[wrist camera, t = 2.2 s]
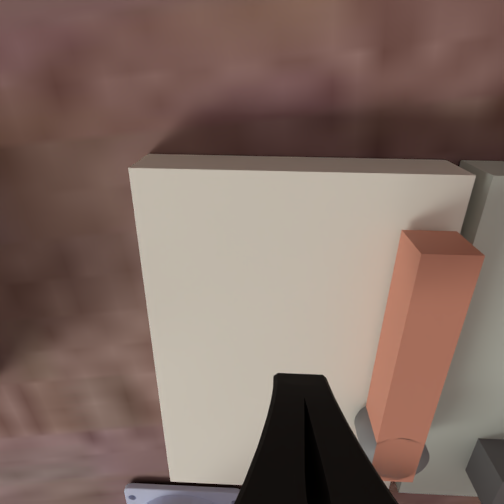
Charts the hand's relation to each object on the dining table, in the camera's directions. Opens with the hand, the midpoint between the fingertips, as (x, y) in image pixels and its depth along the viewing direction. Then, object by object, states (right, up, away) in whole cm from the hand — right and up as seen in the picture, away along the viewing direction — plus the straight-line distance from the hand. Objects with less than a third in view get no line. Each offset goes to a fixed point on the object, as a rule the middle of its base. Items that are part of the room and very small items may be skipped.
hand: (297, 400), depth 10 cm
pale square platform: (+6, 0, +9) cm, 11 cm away
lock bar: (+5, 0, +6) cm, 8 cm away
